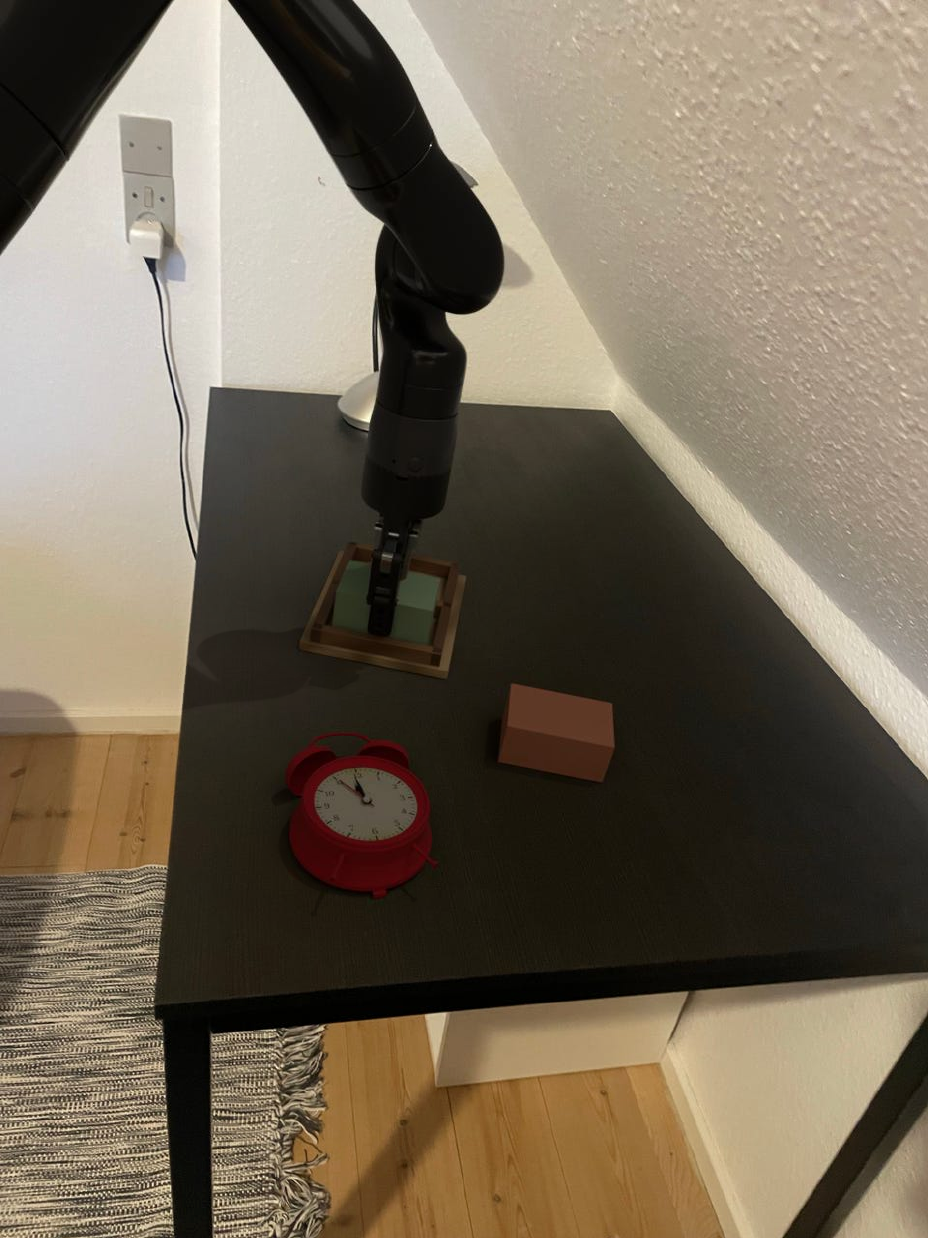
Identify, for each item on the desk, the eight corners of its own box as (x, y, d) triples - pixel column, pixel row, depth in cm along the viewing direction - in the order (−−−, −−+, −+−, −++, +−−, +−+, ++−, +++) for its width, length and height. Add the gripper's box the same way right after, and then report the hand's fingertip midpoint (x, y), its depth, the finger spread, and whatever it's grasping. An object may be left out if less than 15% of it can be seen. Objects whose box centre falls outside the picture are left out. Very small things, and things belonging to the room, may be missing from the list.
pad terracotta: (497, 762, 79) (507, 725, 77) (502, 718, 84) (511, 682, 82) (602, 783, 79) (614, 747, 77) (600, 737, 84) (612, 703, 82)
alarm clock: (311, 881, 61) (277, 698, 70) (300, 926, 65) (268, 748, 74) (462, 860, 65) (410, 689, 74) (442, 903, 69) (395, 736, 78)
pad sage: (331, 627, 88) (336, 591, 86) (344, 594, 93) (349, 559, 91) (426, 646, 88) (433, 610, 86) (434, 612, 93) (440, 578, 91)
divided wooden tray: (298, 650, 87) (300, 627, 86) (338, 557, 103) (341, 537, 101) (446, 679, 88) (451, 658, 86) (465, 583, 103) (469, 563, 101)
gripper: (381, 415, 87) (360, 570, 96) (350, 478, 75) (330, 649, 84) (460, 431, 87) (432, 585, 96) (443, 497, 75) (412, 665, 84)
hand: (384, 614), depth 90 cm, fingers closed on pad sage, 6 cm apart
